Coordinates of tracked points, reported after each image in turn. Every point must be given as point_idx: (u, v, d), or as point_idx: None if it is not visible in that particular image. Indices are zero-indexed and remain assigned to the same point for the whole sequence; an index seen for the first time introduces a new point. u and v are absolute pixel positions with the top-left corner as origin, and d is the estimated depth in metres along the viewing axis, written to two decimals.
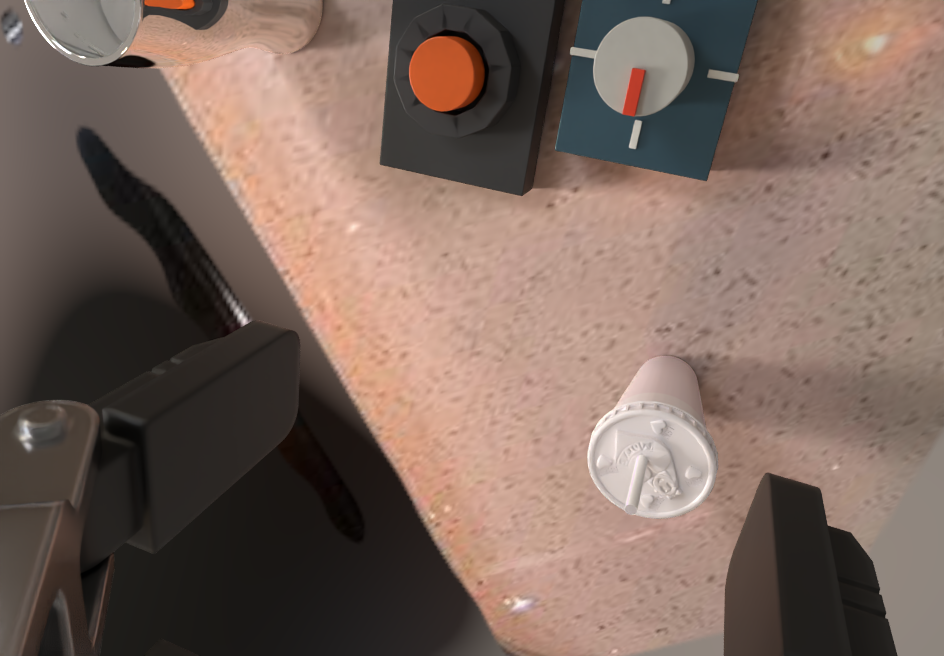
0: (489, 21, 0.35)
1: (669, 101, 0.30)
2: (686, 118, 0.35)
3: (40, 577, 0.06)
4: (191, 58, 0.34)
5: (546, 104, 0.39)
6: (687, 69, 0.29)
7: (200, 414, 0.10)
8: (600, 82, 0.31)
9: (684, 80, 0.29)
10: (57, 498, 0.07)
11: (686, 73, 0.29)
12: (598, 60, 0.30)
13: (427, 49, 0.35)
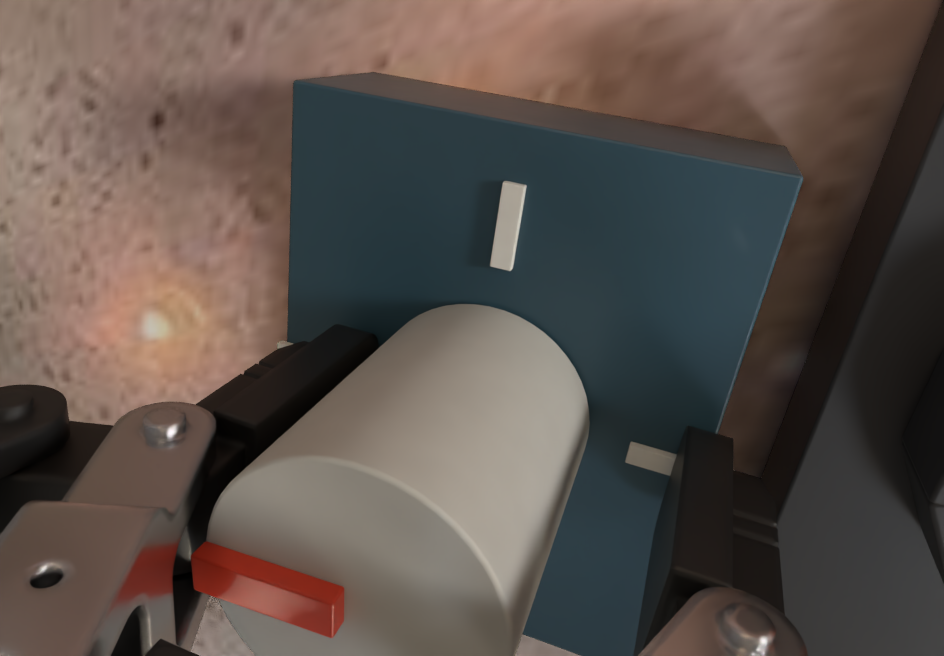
0: None
1: None
2: (375, 263, 0.12)
3: (118, 587, 0.06)
4: None
5: (841, 269, 0.13)
6: None
7: (298, 416, 0.10)
8: (282, 478, 0.08)
9: None
10: (160, 503, 0.08)
11: None
12: (353, 477, 0.07)
13: None
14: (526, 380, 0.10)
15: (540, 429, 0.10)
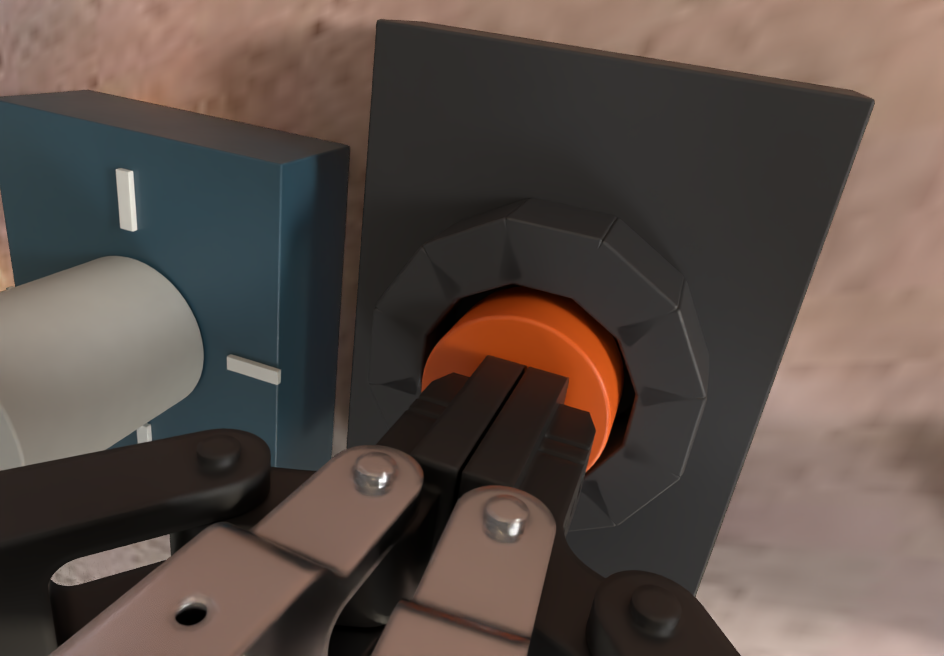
0: None
1: None
2: (57, 228, 0.17)
3: (244, 650, 0.06)
4: None
5: None
6: None
7: None
8: None
9: None
10: (335, 558, 0.07)
11: None
12: None
13: None
14: (113, 302, 0.15)
15: (108, 331, 0.15)
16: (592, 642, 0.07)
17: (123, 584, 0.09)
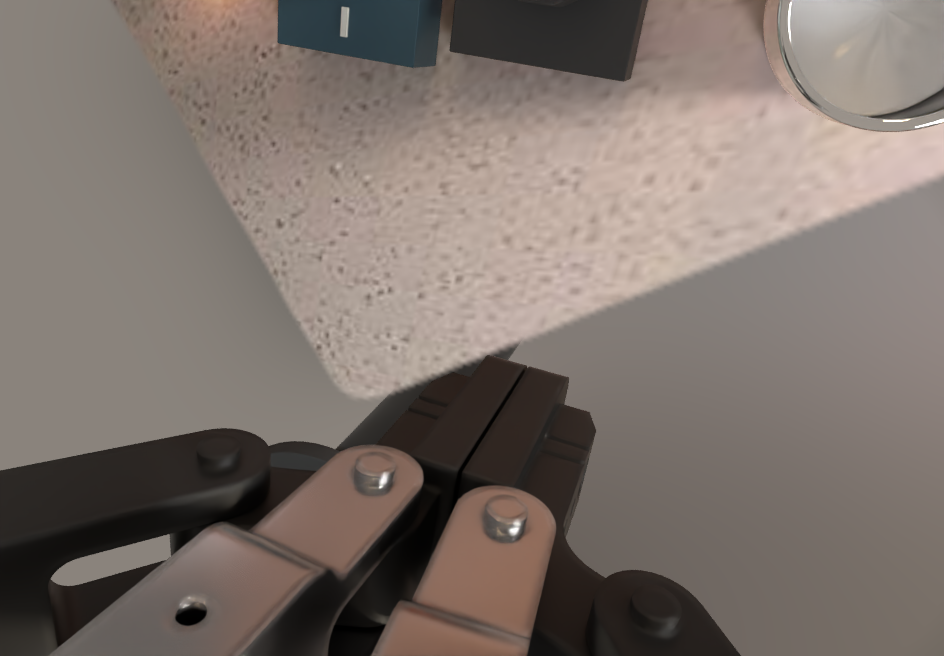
0: None
1: None
2: None
3: (244, 650, 0.06)
4: None
5: None
6: None
7: None
8: None
9: None
10: (335, 558, 0.07)
11: None
12: None
13: None
14: None
15: None
16: (592, 643, 0.07)
17: (123, 584, 0.09)
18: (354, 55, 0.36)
